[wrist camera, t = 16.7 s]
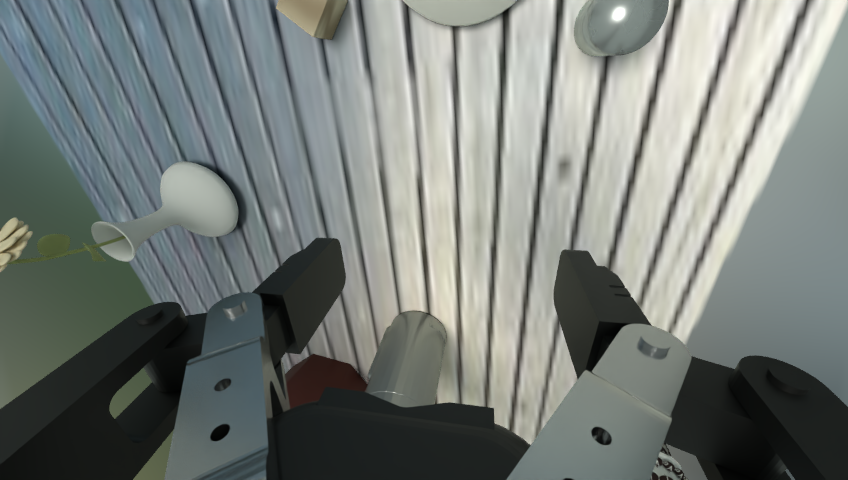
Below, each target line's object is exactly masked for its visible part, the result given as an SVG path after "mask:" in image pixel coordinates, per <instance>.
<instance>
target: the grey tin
mask: <svg viewBox="0 0 848 480" xmlns="http://www.w3.org/2000/svg"><path fill="white" fill-rule="evenodd" d="M668 3H669V0H588V1H587V2H586V3H585V5H584V6H583V7H582V9H581V10H580V12H579V14H578V16H577V18H576V21H575V26H574V38H575V42H576V44H577V46H578V48H579V49H580V50H581V51H582V52H583V53H585V54H587V55H590V56H595V57H597V56H613V55H624V54H628V53H631V52H634V51H636V50H638V49H640V48H641V47H643V46H644V45H646V44H647V43H648V42H649V41H650V40H651V39H652V38H653V37H654V36H655V35H656V33H657V32H658V31H659V29H660V28H661V26H662V24H663V22H664V20H665V17H666V14H667V10H668Z"/></svg>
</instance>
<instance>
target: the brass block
mask: <svg viewBox="0 0 848 480" xmlns="http://www.w3.org/2000/svg"><path fill="white" fill-rule="evenodd" d="M347 2H348V0H279V1H278V4H277V7H276V9H278V10H279V11H280V12H282V13H283V14H284V15H285V16H287V17H288V18H289V19H291V20H292V21H293V22H294V23H296V24H297V25H298V26H299V27H301V28H302V29H303V30H305V31H306V32H307V33H308V34H310V35H311V36H312V37H316V38H323V39H329V40H332V37H333V35H334V33H335V30H336V28H337V26H338V23H339V21H340V18H341V16H342V14H343V11H344V9H345V7H346V4H347Z"/></svg>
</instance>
